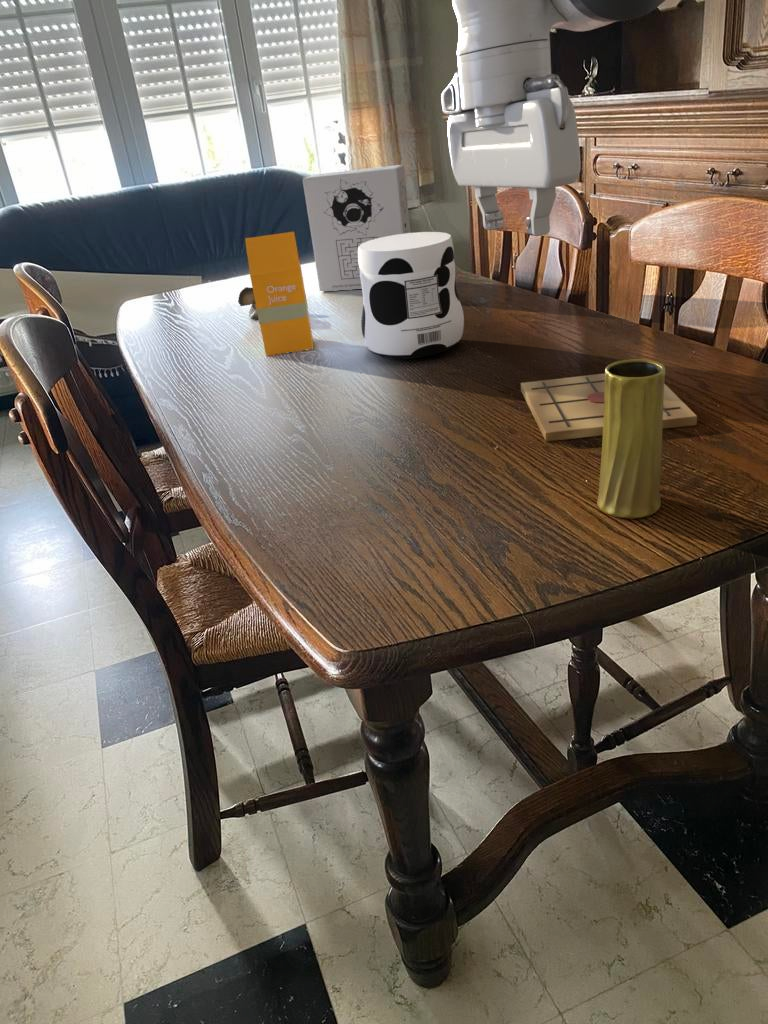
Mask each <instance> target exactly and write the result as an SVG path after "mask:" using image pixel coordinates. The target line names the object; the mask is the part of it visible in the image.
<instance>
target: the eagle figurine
mask: <svg viewBox="0 0 768 1024" xmlns="http://www.w3.org/2000/svg"><path fill="white" fill-rule="evenodd" d="M237 303H238V304H239V307H245V306H250V308H249V311H248V317H250V316H251V317H250V319H251V320H252V321H255V322H257V321H258V320H259V319H258V314H257V308H256V302H255V297H254V292H253V287H248V286H246V287H244V288H243V289H242V290H241V291H240V292H239V293H238V300H237Z"/></svg>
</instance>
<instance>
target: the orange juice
mask: <svg viewBox="0 0 768 1024" xmlns="http://www.w3.org/2000/svg"><path fill="white" fill-rule="evenodd" d="M295 235H296V234H295V231H288V232H281V233H274V234H265V235H260V236H253V237H245V238H244V241H245V249H246V255H247V262H248V270H249V278H250V282H251V288H253V292H254V297H255V302H256V308H257V314H258V319H259V321H258V323H259V327H260V332H261V338H262V342H263V348H264V353H265V357H269V356H268V355H271V356H276V355H275V354H278V355H282V354H281V353H285V354H288V353H287V352H292V353H295V352H294V351H299V352H302V351H301V350H306V349H312V348H313V349H314V338H313V331H312V326H311V319H310V313H309V306H308V300H307V293H306V290H305V283H304V278H303V271H302V267H301V260H300V256H299V250H298V246H297V241H296V236H295ZM306 351H307V350H306Z"/></svg>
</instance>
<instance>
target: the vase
mask: <svg viewBox="0 0 768 1024" xmlns="http://www.w3.org/2000/svg"><path fill="white" fill-rule="evenodd" d="M604 373H605V393H604V423H603V435H602V442H601V456H600V457H601V458H600V471H599V481H598V482H599V484H598V496H597V500H596V505H597V507H598V508H599V509H600V510H601V512H603V513H605V514H606V515H609V516H611V517H615V518H619V519H630V520H631V519H633V520H634V519H635V520H636V519H641V518H647V517H649V516H652V515H654V514H656V513H657V511H659V510H660V508H661V506H662V500H661V495H660V491H661V490H660V489H661V481H662V480H661V479H662V454H663V453H662V449H663V430H664V429H663V399H664V384H665V378H666V367H665V366H664V364H662V363H661V362H659V361H655V360H651V359H643V358H641V359H640V358H639V359H638V358H637V359H636V358H634V359H624V360H623V359H622V360H617V361H614V362H613V363H612V362H611V363H610V364H608V365H607V366H606V367H605V369H604Z"/></svg>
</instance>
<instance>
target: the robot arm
mask: <svg viewBox="0 0 768 1024" xmlns="http://www.w3.org/2000/svg"><path fill="white" fill-rule="evenodd" d="M665 1H666V0H451V4H452V8H453V10H454V13H455V17H456V20H457V26H458V40H457V47H456V57H457V58H456V59H457V71H456V72H455V73H454V76H453V78H452V79H451V81H450V82H449V84H448V85H447V86H446V87H445V88H444V90H443V91H442V93H441V96H440V97H441V98H440V100H441V107H442V112H443V114H445V115H449V117H448V120H447V141H448V149H449V156H450V163H451V169H452V174H453V177H454V179H455V181H456V183H457V185H458V186H459V187H473V188H474V197H475V200H476V203H477V205H478V207H479V210H480V213H481V216H482V226H483V228H484V229H485V230H487V231H497V230H500V229H503V227H504V223H505V222H504V220H503V219H504V213H503V212H504V211H503V210H500V208H499V203H498V201H497V200H498V199H497V197H496V195H497V194H498V188H511V189H512V188H513V189H515V188H516V189H517V188H519V189H528V194H529V200H530V201H532V204H531V210H530V215H529V216H528V217H526V218H525V219H526V220H525V221H526V234H527V235H529V236H532V237H542V236H545V235H546V236H547V235H549V233H550V230H551V222H550V215H551V213H552V209H553V207H554V203H555V200H556V197H557V193H556V192H557V191H556V188H559V187H563V186H568V185H572V184H575V183H576V182H577V180H578V177H579V175H580V172H581V167H582V166H581V165H582V164H581V163H582V161H581V150H580V140H579V139H580V138H579V129H578V123H577V117H576V110H575V107H574V104H573V102H572V100H571V99H570V98H569V97H570V96H569V90H568V87H567V86H565V84H564V82H563V81H562V80H561V79H560V76H559V75H558V74H556V73H552V58H551V37H550V33H551V30H553V29H554V30H568V31H571V32H587V31H592V30H595V29H599V28H601V27H605V26H608V25H610V24H613V23H616V22H623V21H624V22H626V21H631V20H635V19H638V18H641V17H644V16H645V15H647V14H649V13H651V12H652V11H654V10H656V9H657V8H658V7H660V6H661V5H662V4H664V2H665ZM557 86H558V87H557Z"/></svg>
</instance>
